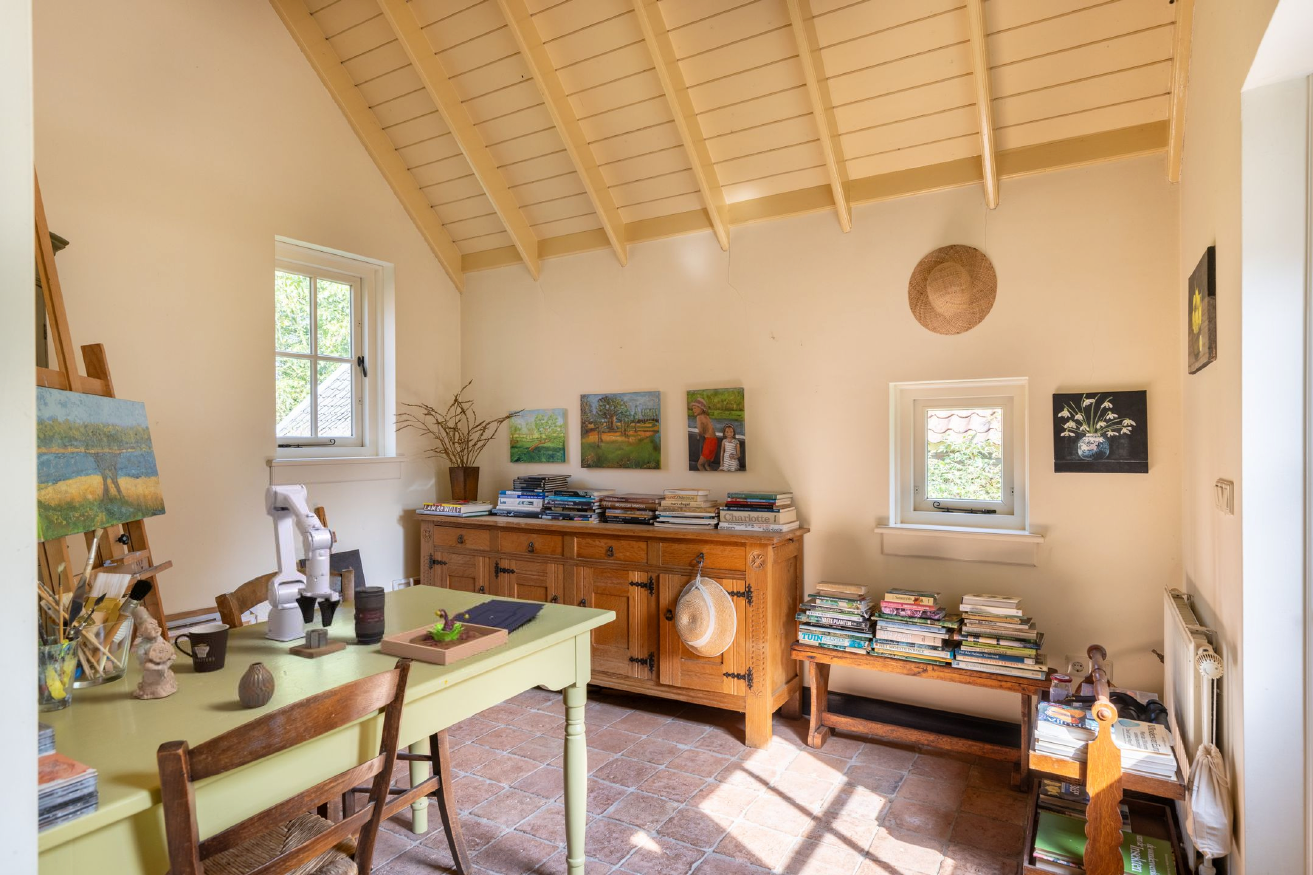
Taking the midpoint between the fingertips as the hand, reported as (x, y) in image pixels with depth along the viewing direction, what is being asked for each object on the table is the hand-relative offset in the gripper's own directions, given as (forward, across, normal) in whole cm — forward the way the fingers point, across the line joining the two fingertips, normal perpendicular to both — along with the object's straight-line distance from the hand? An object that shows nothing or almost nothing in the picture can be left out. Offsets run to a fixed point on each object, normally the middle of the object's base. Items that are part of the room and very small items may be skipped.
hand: (317, 624), depth 195 cm
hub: (+6, 0, 0) cm, 6 cm away
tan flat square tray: (+7, +28, +19) cm, 35 cm away
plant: (+8, +28, +19) cm, 35 cm away
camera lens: (+7, +5, +13) cm, 16 cm away
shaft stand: (+7, 0, 0) cm, 7 cm away
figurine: (+7, -2, -39) cm, 40 cm away
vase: (+7, +24, -32) cm, 41 cm away
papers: (+8, +22, +45) cm, 51 cm away
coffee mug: (+7, -12, -23) cm, 27 cm away
